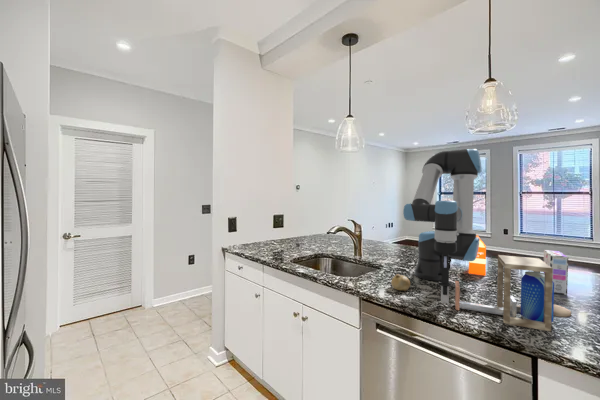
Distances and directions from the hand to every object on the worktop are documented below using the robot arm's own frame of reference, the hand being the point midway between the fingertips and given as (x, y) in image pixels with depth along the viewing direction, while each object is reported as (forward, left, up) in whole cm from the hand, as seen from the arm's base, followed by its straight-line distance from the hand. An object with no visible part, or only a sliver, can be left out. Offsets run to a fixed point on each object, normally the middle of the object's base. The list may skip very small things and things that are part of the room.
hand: (444, 302), depth 106 cm
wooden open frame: (+24, 0, -1) cm, 24 cm away
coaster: (+35, +13, -1) cm, 37 cm away
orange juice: (+16, +57, -2) cm, 59 cm away
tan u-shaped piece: (+13, 0, -1) cm, 13 cm away
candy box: (+44, +42, -2) cm, 60 cm away
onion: (-17, +11, -2) cm, 21 cm away
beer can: (+28, 0, -2) cm, 28 cm away
